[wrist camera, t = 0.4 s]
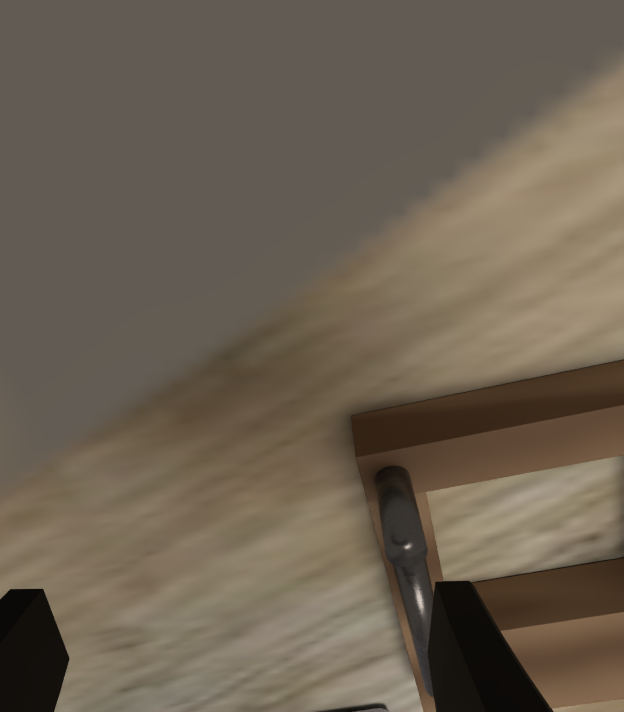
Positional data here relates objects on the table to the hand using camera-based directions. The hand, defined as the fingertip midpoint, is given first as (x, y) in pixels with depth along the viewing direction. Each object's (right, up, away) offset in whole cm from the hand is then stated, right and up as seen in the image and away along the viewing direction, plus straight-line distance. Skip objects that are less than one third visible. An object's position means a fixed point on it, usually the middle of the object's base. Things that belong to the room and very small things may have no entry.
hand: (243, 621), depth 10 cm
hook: (+5, -1, +12) cm, 13 cm away
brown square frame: (+10, -3, +13) cm, 17 cm away
